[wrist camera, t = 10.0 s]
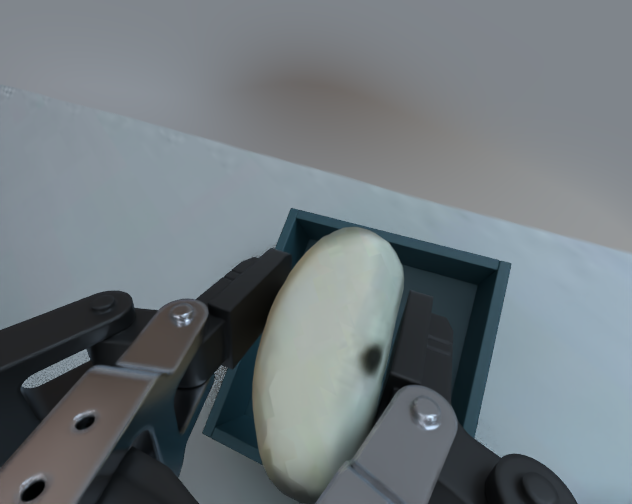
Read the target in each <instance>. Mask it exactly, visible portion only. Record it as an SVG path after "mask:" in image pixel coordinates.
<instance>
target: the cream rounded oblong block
mask: <svg viewBox="0 0 632 504" xmlns="http://www.w3.org/2000/svg"><path fill="white" fill-rule="evenodd" d="M403 290H404V272H403V266H402V264H401V262H400V260H399V258H398V255H397V253H396V252H395V250H394V249H393V247H392V246H391V244H390V243H389V242H387V241H386V240H384V239H383V238H381V237H380V236H379V235H377V234H376V233H374V232H372V231H370V230H367V229H363V228H359V227H346V228H342V229H339V230H337V231H334V232H332V233H331V234H329V235H326V236H324V237H322V238H321V239H320V240H319V241H318V242H317V243H316V244H314V245H313V246H312V247H311V248H310V249H309V250H308V251H307V252H306V253H305V254H304V256H303V257H302V258H301V259H300V260H299V261H298V262H297V264H296V265H295V266H294V268H293V269H292V270H291V272H290V273H289V275H288V277H287V279H286V281H285V282H284V284H283V286H282V287H281V289H280V290H279V292H278V294H277V296H276V298H275V300H274V302H273V304H272V306H271V309H270V312H269V314H268V317H267V321H266V325H265V328H264V330H263V333H262V336H261V340H260V344H259V348H258V352H257V356H256V361H255V367H254V375H253V383H252V401H253V415H254V423H255V430H256V436H257V443H258V449H259V453H260V457H261V460H262V464H263V466H264V468H265V471H266V473H267V475H268V477H269V479H270V480H271V481H272V483H273V484H274V485H275V486H276V487H277V488H278V489H279V490H280V491H281V492H282V493H283V494H285V495H286V496H288V497H290V498H292V499H294V500H296V501H298V502H300V503H305V504H315V503H316V501H317V500H318V499H319V497H320V496H321V494H322V493H323V491H324V490H325V488H326V487H327V485H328V484H329V482H330V481H331V480H332V478H333V477H334V475H335V474H336V472H337V471H338V470H339V468H340V467H341V466H342V465H343V463H344V462H345V461H347V460H349V461H350V460H351V459H352V458H353V457H354V455H355V454H356V453H357V451H358V450H359V448H360V447H361V445H362V444H363V442H364V441H365V439H366V438H367V436H368V435H369V433H370V432H371V430H372V429H373V427H374V423H375V418H376V412H377V407H378V402H379V397H380V392H381V387H382V381H383V377H384V374H385V370H386V366H387V362H388V357H389V353H390V349H391V343H392V338H393V333H394V328H395V323H396V318H397V314H398V310H399V306H400V302H401V298H402V294H403Z"/></svg>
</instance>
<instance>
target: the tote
mask: <svg viewBox="0 0 632 504" xmlns="http://www.w3.org/2000/svg"><path fill="white" fill-rule="evenodd" d="M346 227H359V228H363V229H367V230H370V231H372V232H374V233H376V234H377V235H379V236H380V237H381V238H383V239H384V240H386V241H387V242H389V243H390V244H391V246H392V247H393V249H394V250H395V252H396V253H397V255H398V258H399V260H400V262H401V264H402V266H403V272H404V290H403V294H402V298H401V302H400V306H399V310H398V314H397V318H396V323H395V328H394V333H393V338H392V343H391V349H390V353H389V357H388V362H387V366H386V370H385V374H384V377H383V381H382V387H383V384H384V380H385V376H386V372H387V368H388V364H389V361H390V357H391V353H392V349H393V345H394V341H395V338H396V334H397V331H398V327H399V324H400V321H401V318H402V314H403V311H404V308H405V305H406V302H407V298H408V295H409V292H410V290H412V291H416V292H419V293H422V294H426V295H429V296H432V297H433V304H432V312H431V313H433V314H437V315H440V316H443V317H446V318H447V319H448V321H449V323H450V325H451V327H452V329H453V345H452V346H453V355H452V383H451V405H452V408H453V410H454V412H455V414H456V417H457V420H458V422H459V423H460V424H461V426H462V427H463V428H464V429H465V431H466V432H467V433H468V434H469V435H471V436H472V437H473V438H474V437H475V432H476V428H477V423H478V418H479V414H480V409H481V404H482V400H483V395H484V390H485V386H486V381H487V376H488V372H489V367H490V362H491V357H492V353H493V348H494V343H495V339H496V334H497V329H498V325H499V320H500V315H501V311H502V306H503V301H504V297H505V292H506V287H507V283H508V278H509V273H510V269H511V263H508V262H504V261H499V260H496V259H492V258H489V257H485V256H481V255H477V254H473V253H469V252H465V251H461V250H457V249H453V248H449V247H445V246H441V245H437V244H433V243H429V242H425V241H421V240H417V239H413V238H409V237H405V236H401V235H397V234H393V233H389V232H385V231H381V230H377V229H373V228H369V227H365V226H361V225H357V224H353V223H349V222H345V221H341V220H337V219H333V218H329V217H325V216H321V215H317V214H314V213H310V212H306V211H302V210H297V209H293V208H291V210H290V212H289V215H288V217H287V220H286V222H285V225H284V227H283V230H282V232H281V235H280V237H279V240H278V242H277V245H276V247H275V249H277V250H280V251H283V252H287V253H290V254H291V255H292V269H293V268H294V266H295V265H296V264H297V262H298V261H299V260H300V259H301V258H302V257H303V256H304V254H305V253H306V252H307V251H308V250H309V249H310V248H311V247H312V246H313V245H314V244H316V243H317V242H318V241H319V240H320V239H321V238H322V237H324V236H326V235H329V234H331V233H332V232H334V231H337V230H339V229H342V228H346ZM262 333H263V332H262ZM261 336H262V334H261V335H260V336H259V338H258V339H257V340H256V341H255V343H254V344H253V345H252V346H251V348H250V349H249V350H248V351H247V353H246V354H245V355H244V356H243V358H242V359H241V360H240V361H239V363H238V364H237V365H236V366H235V368H234V369H233V370H232V369H229V368H228V369H227V372H226V374H225V377H224V379H223V382H222V384H221V387H220V389H219V392H218V394H217V397H216V399H215V402H214V405H213V407H212V410H211V412H210V415H209V417H208V420H207V422H206V425H205V427H204V430H203V432H202V433H203V434H204V435H206V436H208V437H211V438H212V439H214V440H216V441H218V442H220V443H221V444H223V445H225V446H227V447H229V448H231V449H233V450H235V451H237V452H239V453H241V454H242V455H244V456H246V457H248V458H250V459H252V460H254V461H256V462H258V463H260V464H261V465H263V464H262V460H261V457H260V453H259V449H258V443H257V436H256V430H255V423H254V415H253V401H252V383H253V375H254V367H255V361H256V356H257V352H258V348H259V344H260V340H261ZM382 387H381V391H382ZM380 395H381V392H380ZM379 399H380V397H379ZM378 403H379V402H378Z"/></svg>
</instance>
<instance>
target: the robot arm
mask: <svg viewBox="0 0 632 504" xmlns="http://www.w3.org/2000/svg"><path fill="white" fill-rule="evenodd" d="M291 270H292V255H291V254H290V253H287V252H283V251H280V250H277V249H273V248H271V249H269V250H268V251H267V252H266V253H264V254H263V255H262V256H261V257H260V258H256V257H253V258H250V259H248V260H245V261H243V262H241V263H240V264H238V265H237V266H236V267H235V268H234V269H232V271H230V272H229V273H227V274H226V275H225V276H224V278H223V277H222V278H221V279H220V280H219V281H218V282H216V283H215V284H214V285H213V286H211V287H210V288H209V289H208V290H207V291H205V292H204V293H203V294H202V295H200V296H199V297H198V298H197V299H196V300H195V299H180V300H175V301H172V302H170V303H168V304H166V305H164V306H163V307H162V308H160V309H159V310H150V309H139V308H134V304H133V300H132V297H131V296H130V295H129V294H128V293H125V292H122V291H105V292H101V293H97V294H94V295H91V296H89V297H86V298H84V299H81V300H78V301H76V302H73V303H70V304H68V305H65V306H63V307H60V308H57V309H55V310H52V311H50V312H47V313H44V314H42V315H39V316H36V317H34V318H31V319H29V320H26V321H23V322H21V323H18V324H15V325H13V326H10V327H8V328H5V329H2V330H0V504H199V503H198V502H197V501H196V500H195V498H194V497H193V496H192V495H191V493H190V492H189V491H188V490H187V489H186V487H185V486H184V485H183V484H182V482H181V481H180V480H179V479H178V478H179V475H180V472H181V468H182V465H183V460H184V453H185V448H186V444H187V441H188V438H189V436H190V434H191V432H192V429H193V427H194V425H195V423H196V420H197V418H198V416H199V414H200V412H201V409H202V407H203V405H204V403H205V401H206V398H207V396H208V394H209V392H210V389H211V387H212V385H213V383H214V379H215V375H214V373H215V371H216V370H217V369H218V368H219V367H220V365H223V366H225V367H227V368H229V369H232V370H233V369H234V368H235V366H236V365H237V364H238V363H239V361H240V360H241V359H242V358H243V356H244V355H245V354H246V353H247V351H248V350H249V349H250V348H251V346H252V345H253V344H254V343H255V341H256V340H257V339H258V338H259V336H260V335H261V334H262V332H263V330H264V328H265V325H266V321H267V317H268V314H269V312H270V309H271V306H272V304H273V302H274V300H275V298H276V296H277V294H278V292H279V290H280V289H281V287H282V286H283V284H284V282H285V281H286V279H287V277H288V275H289V273H290V272H291ZM432 304H433V297H432V296H429V295H426V294H422V293H419V292H416V291H412V290H410V292H409V295H408V298H407V302H406V305H405V308H404V311H403V314H402V318H401V321H400V324H399V327H398V331H397V334H396V338H395V341H394V345H393V349H392V353H391V357H390V361H389V364H388V368H387V372H386V376H385V380H384V384H383V387H382V391H381V395H380V399H379V403H378V407H377V412H376V418H375V423H374V427H373V429H372V430H371V432H370V433H369V435H368V436H367V438H366V439H365V441H364V442H363V444H362V445H361V447H360V448H359V450H358V451H357V453H356V454H355V455H354V457H353V458H352V459H351V460H350V461H349V460H347V461H345V462H344V463H343V465H342V466H341V467H340V468H339V470H338V471H337V472H336V474H335V475H334V477H333V478H332V480H331V481H330V482H329V484H328V485H327V487H326V488H325V490H324V491H323V493H322V494H321V496H320V497H319V499H318V500H317V501H316V503H315V504H577V502H576V500H575V498H574V497H573V495H572V493H571V492H570V490H569V489H568V488H567V486H566V485H565V484H564V483H563V482H562V480H561V479H560V478H559V477H558V476H557V475H556V474H555V473H554V472H552V471H551V470H550V469H549V468H547V467H546V466H545V465H543V464H542V463H540V462H539V461H537V460H535V459H533V458H530V457H528V456H525V455H521V454H509V455H506V456H503V457H502V458H500V457H499V456H497V455H496V454H495V453H493V452H492V451H490V450H489V449H488V448H486V447H485V446H483V445H482V444H481V443H479V442H478V441H477V440H475V439H474V438H473V437H472V436H471V435H469V434H468V433H467V432H466V431H465V429H464V428H463V427H462V426H461V424H460V423H459V422H458V420H457V417H456V414H455V412H454V410H453V408H452V405H451V383H452V355H453V346H452V345H453V329H452V327H451V325H450V323H449V321H448V319H447V318H446V317H443V316H440V315H437V314H433V313H431V312H432ZM84 349H87V352H88V354H89V357H90V361H88V362H86V363H84V364H82V365H80V366H78V367H76V368H74V369H72V370H70V371H68V372H66V373H64V374H62V375H60V376H59V377H57V378H55V379H53V380H51V381H49V382H47V383H45V384H43V385H41V386H38V387H35V388H24V387H22V384H23V382H24V381H25V380H26V379H27V378H28V377H30V376H31V375H33V374H34V373H36V372H38V371H40V370H43V369H45V368H47V367H49V366H51V365H53V364H55V363H57V362H59V361H61V360H63V359H65V358H68V357H70V356H72V355H74V354H76V353H78V352H80V351H82V350H84Z"/></svg>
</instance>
